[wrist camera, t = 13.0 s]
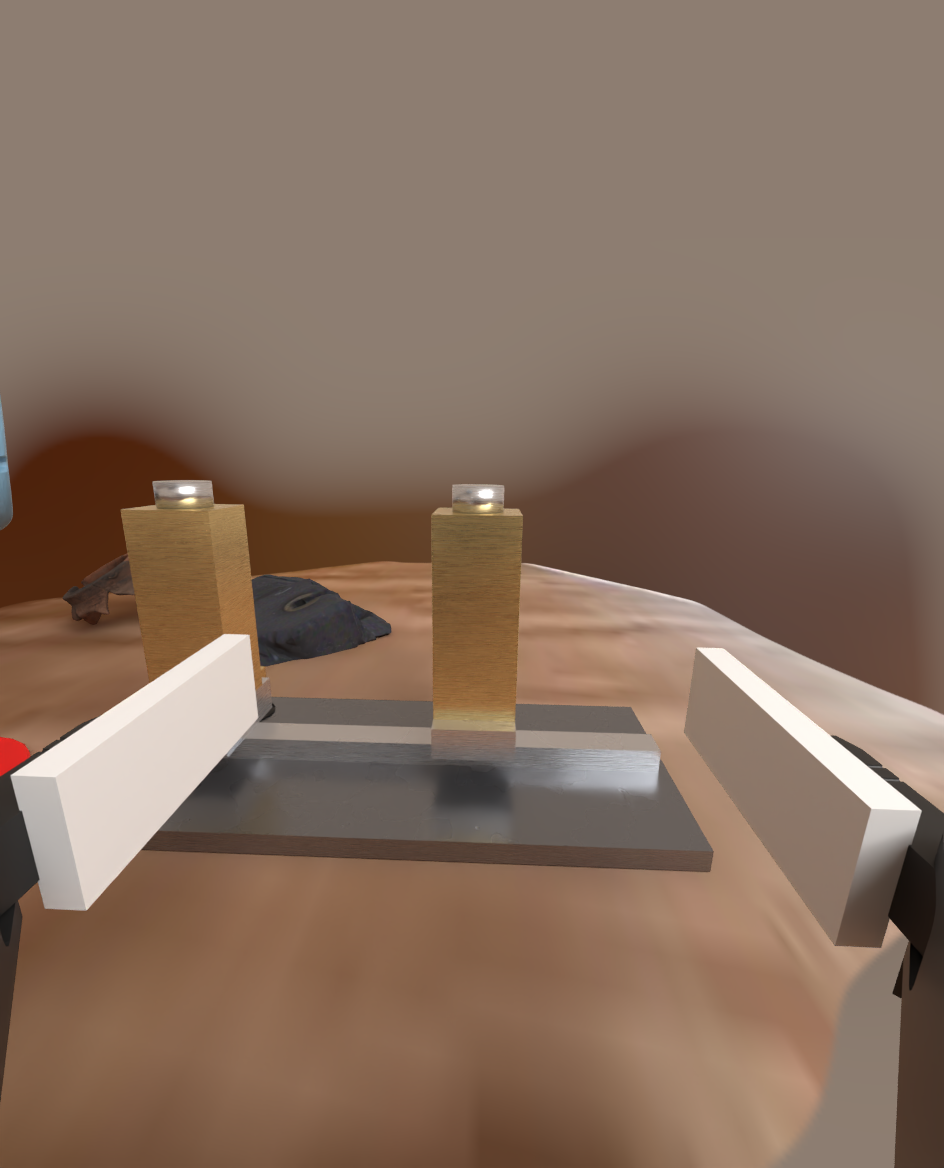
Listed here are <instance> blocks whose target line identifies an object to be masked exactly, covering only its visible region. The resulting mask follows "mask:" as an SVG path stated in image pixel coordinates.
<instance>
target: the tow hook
mask: <svg viewBox="0 0 944 1168" xmlns="http://www.w3.org/2000/svg"><path fill="white" fill-rule="evenodd" d="M29 757H31V756H30V752H29V750H28V749H27V747H26V746H25V744H23V743H21V742H19V741H16V740H14V739H10V738H3V737H0V776H2V775H3V774H5V773H6V772H8V771H9V770H11V769H12V768H14V767H16V766H17V765H19V764H20V763H22V762H23V761H25V760H26V759H28V758H29Z"/></svg>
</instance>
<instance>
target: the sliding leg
mask: <svg viewBox="0 0 944 1168" xmlns="http://www.w3.org/2000/svg"><path fill="white" fill-rule="evenodd" d="M452 487H453V488H452V491H453V492H452V497H453V498H452V506H453V507H452V508H438V509H437V510H436V511H435V512H434V513H433V514H432V626H433V723H432V728H431V759H447V760H478V761H509V762H515V745H516V726H515V710H516V683H517V657H518V630H519V604H520V577H521V550H522V524H523V523H522V522H523V516H522V514H521V512H520V511H519V509H504V486H503V485H486V484H460V485H453V486H452Z"/></svg>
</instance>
